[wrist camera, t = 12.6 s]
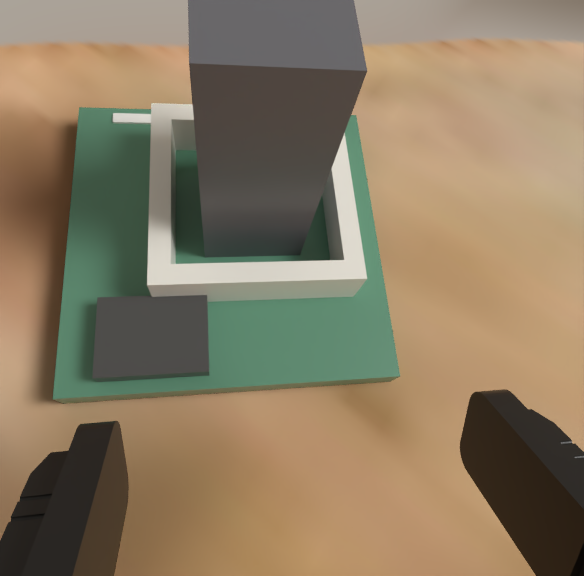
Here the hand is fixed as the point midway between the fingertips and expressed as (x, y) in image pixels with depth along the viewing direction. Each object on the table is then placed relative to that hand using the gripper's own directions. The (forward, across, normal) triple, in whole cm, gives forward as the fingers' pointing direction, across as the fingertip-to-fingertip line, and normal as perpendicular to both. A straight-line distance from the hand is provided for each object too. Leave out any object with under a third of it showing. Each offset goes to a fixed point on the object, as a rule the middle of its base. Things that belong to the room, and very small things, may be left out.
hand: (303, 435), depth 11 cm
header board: (+12, +1, 0) cm, 12 cm away
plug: (+12, 0, -2) cm, 12 cm away
